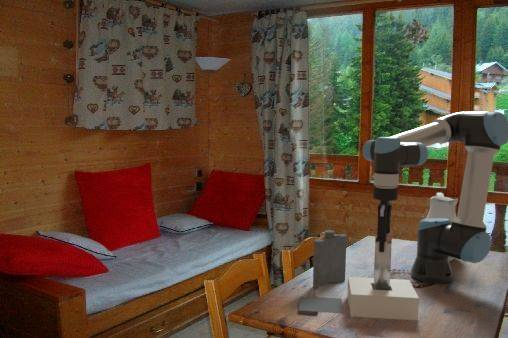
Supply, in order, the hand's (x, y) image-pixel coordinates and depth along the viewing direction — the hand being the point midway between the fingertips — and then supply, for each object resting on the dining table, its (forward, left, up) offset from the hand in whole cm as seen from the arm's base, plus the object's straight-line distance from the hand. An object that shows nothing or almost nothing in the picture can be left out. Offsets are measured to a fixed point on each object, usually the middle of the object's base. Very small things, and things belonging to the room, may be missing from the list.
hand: (382, 258), depth 152 cm
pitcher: (-34, -66, -17) cm, 76 cm away
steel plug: (0, 0, -10) cm, 10 cm away
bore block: (0, 0, -17) cm, 17 cm away
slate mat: (+19, 0, -17) cm, 26 cm away
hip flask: (+16, -23, -17) cm, 33 cm away
